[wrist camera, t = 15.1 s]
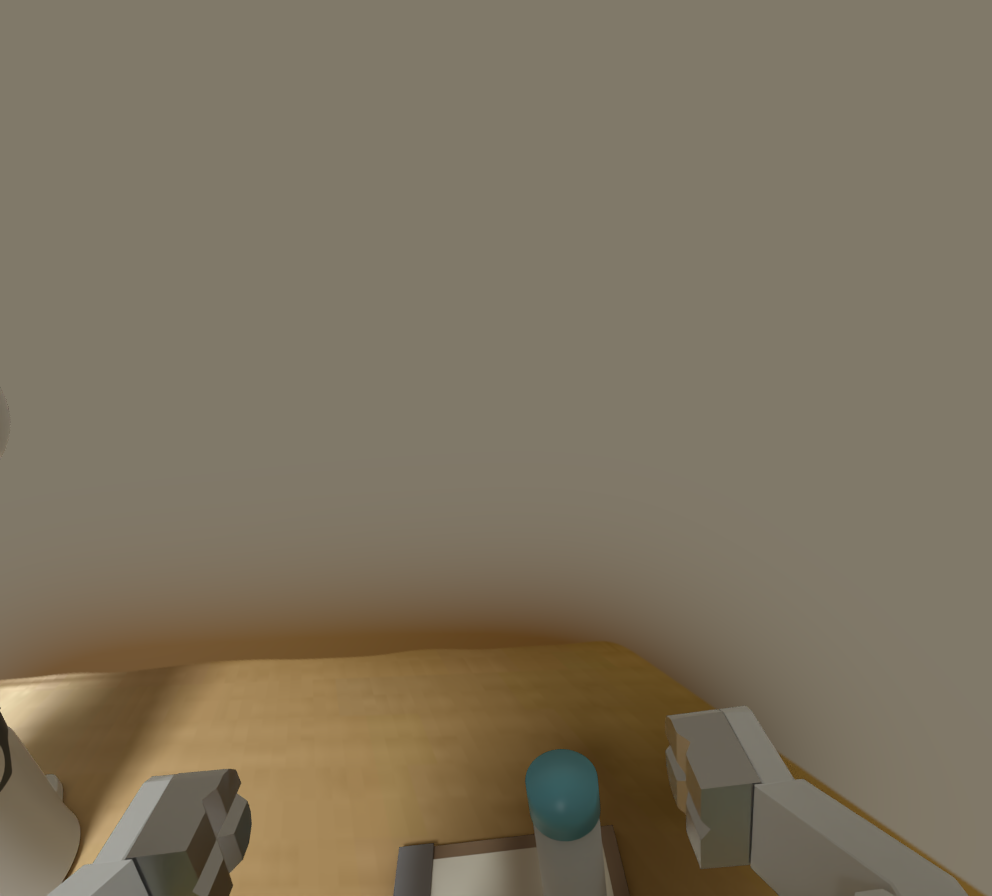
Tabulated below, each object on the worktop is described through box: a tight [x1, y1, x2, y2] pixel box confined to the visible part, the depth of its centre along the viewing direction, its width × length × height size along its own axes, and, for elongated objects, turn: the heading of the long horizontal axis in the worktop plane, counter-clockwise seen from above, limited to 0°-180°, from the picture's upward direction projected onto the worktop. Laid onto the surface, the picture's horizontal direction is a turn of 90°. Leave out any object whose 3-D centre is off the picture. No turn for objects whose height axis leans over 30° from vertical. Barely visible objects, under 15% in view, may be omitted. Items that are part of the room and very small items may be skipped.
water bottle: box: [525, 749, 607, 896], centre depth 32 cm, size 4×4×12 cm
